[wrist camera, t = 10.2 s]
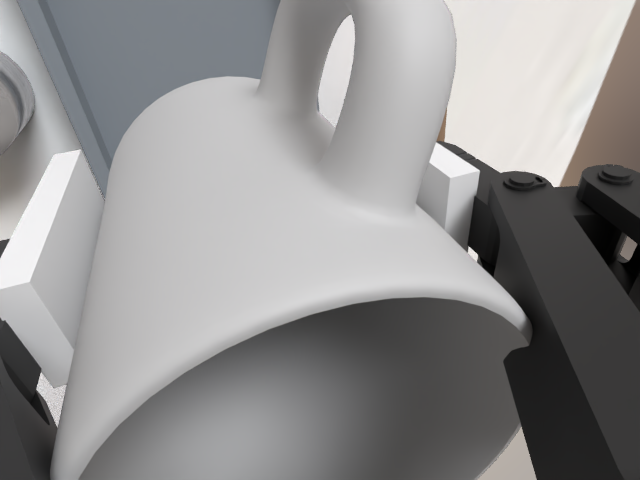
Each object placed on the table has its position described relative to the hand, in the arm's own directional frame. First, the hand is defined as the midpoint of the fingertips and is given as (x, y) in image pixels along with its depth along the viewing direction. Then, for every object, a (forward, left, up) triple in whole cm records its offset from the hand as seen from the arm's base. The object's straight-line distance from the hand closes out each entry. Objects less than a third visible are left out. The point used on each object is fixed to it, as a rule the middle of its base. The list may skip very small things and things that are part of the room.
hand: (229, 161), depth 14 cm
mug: (+1, 0, -1) cm, 1 cm away
